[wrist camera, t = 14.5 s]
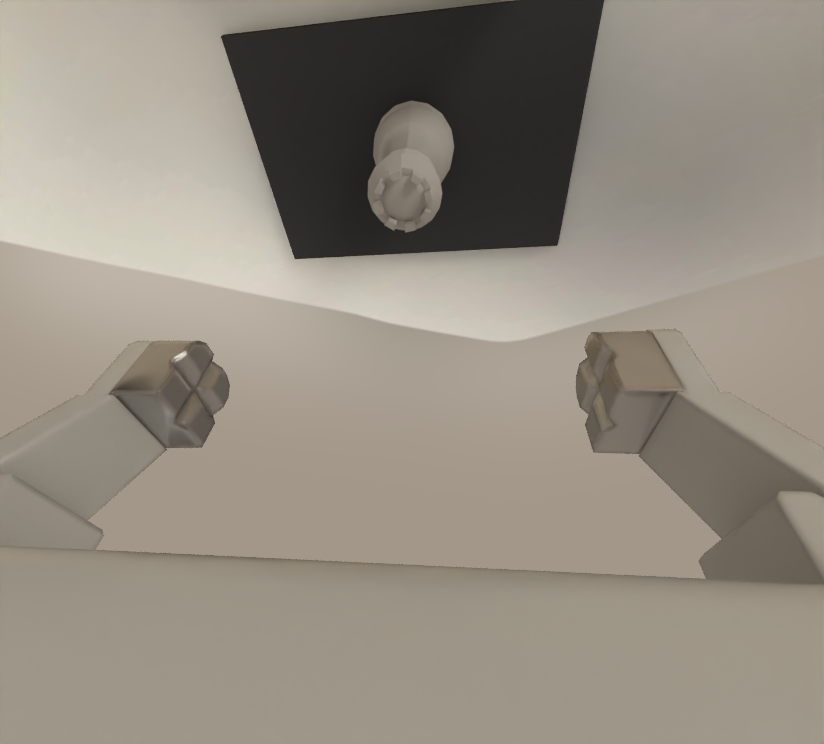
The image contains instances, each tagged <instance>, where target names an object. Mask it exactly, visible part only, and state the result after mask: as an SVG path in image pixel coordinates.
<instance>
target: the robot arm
mask: <svg viewBox="0 0 824 744" xmlns="http://www.w3.org/2000/svg"><path fill="white" fill-rule="evenodd" d="M585 351H586V353H587V356H588V357H587V358H586V359H585V360H583V361H582V362H581V363H580V364H579V368H578V372H577V375H576V393H577V399H578V402H579V406H580V408H582V409H583V410H584V411H585V412H586V413H587V414H589V415H588V418H587V421H586V424H585V426H586V429H587V433H588V436H589V439H590V443H591V446H592V449H593V452H598V453H626V454H640V455H639V457H640V458H641V459H642V460H643V461H644V462H645V463H646V464H647V465H648V466H649V467H650V468H651V469H652V470H653V471H654V472H655V473H656V474H657V475H658V476H659V477H660V478H661V479H662V480H663V481H664V482H665V483H666V484H667V485H668V486H669V487H670V488H671V489H672V490H673V491H674V492H675V493H676V494H677V495H678V496H679V497H680V498H681V499H682V500H683V501H685V503H686V504H687V505H688V506H689V507H690V508H691V509H692V510H693V511H695V513H697V515H698V516H699V517H700V518H701V519H702V520H703V521H704V522H705V523H706V524H707V525H708V526H709V527H710V528H711V529H712V530H713V531H714V532H715V533H716V534H718V536H719V537H720V538H721V540H720V541H719V542H718V543H716V544H715V545H714V546H713V547H712V548H710V549H709V550H708V551H707V552H706V553H704V555H703V556H702V557H701V558H700V560H699V563H700V565H701V568H702V570H703V573H704V575H705V578H706V579H698V578H697V579H696V578H677V577H656V576H635V575H612V574H592V573H570V572H550V571H528V570H508V569H487V568H466V567H465V568H464V567H445V566H424V565H403V564H401V565H400V564H382V563H361V562H339V561H318V560H297V559H275V558H256V557H234V556H213V555H191V554H170V553H169V554H168V553H150V552H128V551H106V550H95V549H96V548H97V546H98V544H99V543H100V541H101V539H102V538H103V536H104V535H103V530H102V529H100V528H98V527H97V526H95V525H94V524H92V523H90V522H89V521H87V520H88V519H90V518H91V517H92V516H93V515H94V514H95V513H96V512H97V511H99V510H100V509H101V508H102V507H103V506H104V505H105V504H107V503H108V502H109V501H110V500H111V499H112V498H113V497H114V496H116V495H117V494H118V493H119V492H120V491H121V490H122V489H123V488H124V487H126V486H127V485H128V484H129V483H130V482H131V481H132V480H134V479H135V478H136V477H137V476H138V475H139V474H140V473H141V472H142V471H144V470H145V469H146V468H147V467H148V466H149V465H150V464H152V463H153V462H154V461H155V460H156V459H157V458H158V457H159V456H161V455H162V454H163V453H164V452H165V451H166V450H167V449H166V448H194V447H195V448H198V447H202V446H203V444H204V443H205V441H206V439H207V437H208V435H209V433H210V431H211V430H212V428H213V426H214V424H215V421H214V418H213V415H214V414H215V413H217V412H218V411H219V410H220V409H221V408H223V407H224V405H225V403H226V401H227V399H228V396H229V387H230V384H229V381H228V377H227V375H226V373H225V372H224V370H223V368H222V367H220V366H219V365H217V364H215V363H214V362H212V359H213V355H214V354H213V352H212V351H211V349H210V348H209V346H208V345H207V343H204V342H201V341H137V342H134V343H131V344H129V345H128V346H127V347H126V348H125V349H124V350H123V351H122V353H121V354H120V355H119V356H118V357H117V358H116V359H115V360H114V361H113V363H112V364H111V365H110V366H109V367H108V368H107V369H106V371H105V372H104V373H103V374H102V375H101V376H100V377H99V378H98V379H97V381H96V382H95V383H94V384H93V385H92V386H91V387H90V389H88V391H87V392H86V393H85V394H84V395H76V396H74V397H73V398H71V399H69V400H67V401H66V402H64V403H62V404H60V405H58V406H57V407H55V408H53V409H51V410H49V411H48V412H46V413H44V414H42V415H40V416H39V417H37V418H35V419H33V420H32V421H30V422H28V423H26V424H24V425H23V426H21V427H19V428H17V429H16V430H14V431H12V432H10V433H8V434H7V435H5V436H3V437H1V438H0V744H824V447H822V446H820V445H819V444H817V443H815V442H814V441H812V440H810V439H808V438H807V437H805V436H803V435H802V434H800V433H798V432H797V431H795V430H793V429H792V428H790V427H788V426H787V425H784V424H783V423H781V422H780V421H778V420H776V419H775V418H773V417H771V416H770V415H768V414H766V413H764V412H763V411H761V410H759V409H758V408H756V407H754V406H753V405H751V404H749V403H747V402H746V401H744V400H742V399H741V398H739V397H737V396H736V395H734V394H732V393H730V392H720V391H719V389H718V388H717V386H716V385H715V383H714V382H713V380H712V379H711V377H710V376H709V374H708V373H707V371H706V369H705V368H704V366H703V365H702V363H701V362H700V360H699V359H698V357H697V356H696V354H695V353H694V352H693V350H692V348H691V347H690V345H689V344H688V342H687V340H686V339H685V338H684V336H683V335H682V333H681V332H680V331H678V330H676V329H661V330H646V331H615V332H591V334H590V335H589V337H588V338H587V341H586V344H585Z"/></svg>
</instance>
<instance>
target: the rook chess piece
mask: <svg viewBox="0 0 824 744" xmlns="http://www.w3.org/2000/svg"><path fill="white" fill-rule="evenodd" d="M453 151H454V142H453V136H452V130H451V128H450V126H449V124H448V123H447V121H446V119H445V118H444V116H443V114H442V113H440V112H439V111H438V110H436V109H435V108H433V107H432V106H431V105H429V104H428V103H422V102H416V101H408V102H405V103H402V104H399V105H395V106H394V107H393V108H392V109H391V110H390V111H389V112H388V113H386V114H385V115H384V116H383V117H382V119H381V121H380V124H379V126H378V128H377V130H376V132H375V138H374V150H373V157H374V160H375V164H376V167H375V168H374V170H373V172H372V174H371V176H370V178H369V180H368V199H369V202H370V205H371V208H372V211H373V212H374V213H375V214H376V216H377V217H378V218H379V219H380V220H381V222H383V223H385V224H384V225H385V226H387V227H388V228H390V229H392V230H395V229H398V230H405V233H406V232H410V231H414V230H416V229H418V228H421V227H423V226H424V225H426V224H427V223H428V222H430V221H431V220H432V219H433V218H434V216H435V215H436V213H437V211H438V210H439V208H440V204H441V198H442V188H441V183H442V181H443V179H444V178H445V176H446V175H447V173H448V171H449V170H450V166H451V162H452V156H453Z"/></svg>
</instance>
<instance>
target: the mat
mask: <svg viewBox="0 0 824 744" xmlns="http://www.w3.org/2000/svg"><path fill="white" fill-rule="evenodd" d="M603 3H604V0H514V1H506V2H498V3H489V4H481V5H472V6H464V7H455V8H447V9H438V10H430V11H422V12H413V13H405V14H396V15H388V16H379V17H371V18H363V19H354V20H346V21H337V22H329V23H320V24H312V25H304V26H295V27H287V28H278V29H270V30H261V31H253V32H245V33H236V34H228V35H222V36H221V38H222V41H223V44H224V47H225V50H226V53H227V56H228V59H229V62H230V65H231V68H232V71H233V74H234V77H235V80H236V83H237V86H238V89H239V92H240V95H241V98H242V101H243V104H244V107H245V110H246V113H247V116H248V119H249V122H250V125H251V128H252V131H253V134H254V137H255V140H256V143H257V147H258V150H259V153H260V156H261V159H262V162H263V165H264V168H265V171H266V174H267V177H268V180H269V183H270V186H271V189H272V192H273V195H274V198H275V201H276V204H277V207H278V210H279V213H280V216H281V219H282V222H283V225H284V228H285V231H286V234H287V237H288V240H289V243H290V246H291V249H292V252H293V255H294V258H295V259H305V258H324V257H344V256H363V255H383V254H402V253H422V252H441V251H460V250H480V249H499V248H519V247H538V246H557V245H558V240H559V235H560V230H561V225H562V219H563V214H564V209H565V203H566V198H567V193H568V188H569V182H570V177H571V172H572V166H573V161H574V156H575V151H576V145H577V140H578V135H579V129H580V124H581V119H582V114H583V108H584V103H585V98H586V93H587V87H588V82H589V77H590V71H591V66H592V61H593V56H594V50H595V45H596V40H597V34H598V29H599V24H600V19H601V13H602V8H603ZM408 101H416V102H422V103H428V104H429V105H431V106H432V107H433V108H435V109H436V110H438V111H439V112H440V113H442V114H443V116H444V118H445V119H446V121H447V123H448V124H449V126H450V128H451V130H452V136H453V142H454V151H453V156H452V162H451V166H450V170H449V171H448V173H447V175H446V176H445V178H444V179H443V181H442V183H441V188H442V198H441V204H440V208H439V210H438V211H437V213H436V215H435V216H434V218H433V219H432V220H431V221H430V222H428V223H427V224H426V225H424V226H423V227H421V228H418V229H416V230H414V231H410V232H406V233H405V230H398V229H395V230H392V229H390V228H388V227H387V226H385V225H384V224H385V223H383V222H381V220H380V219H379V218H378V217H377V216H376V214H375V213H374V212H373V211H372V208H371V205H370V202H369V199H368V180H369V178H370V176H371V174H372V172H373V170H374V168H375V167H376V164H375V160H374V157H373V150H374V138H375V132H376V130H377V128H378V126H379V124H380V121H381V119H382V117H383V116H384V115H385V114H386V113H388V112H389V111H390V110H391V109H392V108H393V107H394V106H395V105H399V104H402V103H405V102H408Z"/></svg>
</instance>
